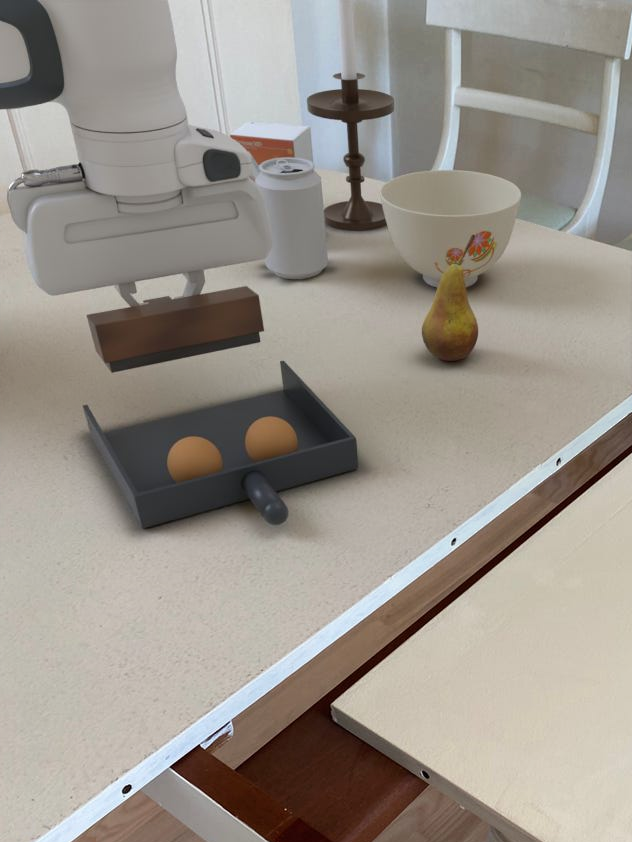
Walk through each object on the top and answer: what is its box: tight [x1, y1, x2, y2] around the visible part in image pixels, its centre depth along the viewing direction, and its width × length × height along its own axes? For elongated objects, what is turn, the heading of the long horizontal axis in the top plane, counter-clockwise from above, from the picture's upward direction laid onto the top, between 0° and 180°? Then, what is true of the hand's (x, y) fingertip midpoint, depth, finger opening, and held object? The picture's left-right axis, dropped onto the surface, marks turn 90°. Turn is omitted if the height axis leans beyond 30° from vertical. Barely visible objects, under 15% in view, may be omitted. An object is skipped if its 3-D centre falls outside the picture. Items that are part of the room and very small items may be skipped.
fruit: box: [421, 235, 479, 362], centre depth 97 cm, size 6×6×12 cm
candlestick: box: [306, 0, 395, 232], centre depth 119 cm, size 11×11×35 cm
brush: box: [86, 285, 265, 374], centre depth 86 cm, size 14×8×4 cm, turn 120°
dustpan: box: [82, 360, 359, 529], centre depth 83 cm, size 22×19×3 cm
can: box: [255, 157, 329, 280], centre depth 113 cm, size 8×8×12 cm
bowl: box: [379, 169, 522, 289], centre depth 113 cm, size 16×16×10 cm
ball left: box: [167, 436, 223, 483], centre depth 80 cm, size 4×4×4 cm
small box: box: [229, 121, 315, 182], centre depth 120 cm, size 8×6×13 cm
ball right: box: [245, 417, 298, 462], centre depth 83 cm, size 4×4×4 cm
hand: (168, 322), depth 87 cm, fingers closed on brush, 2 cm apart
